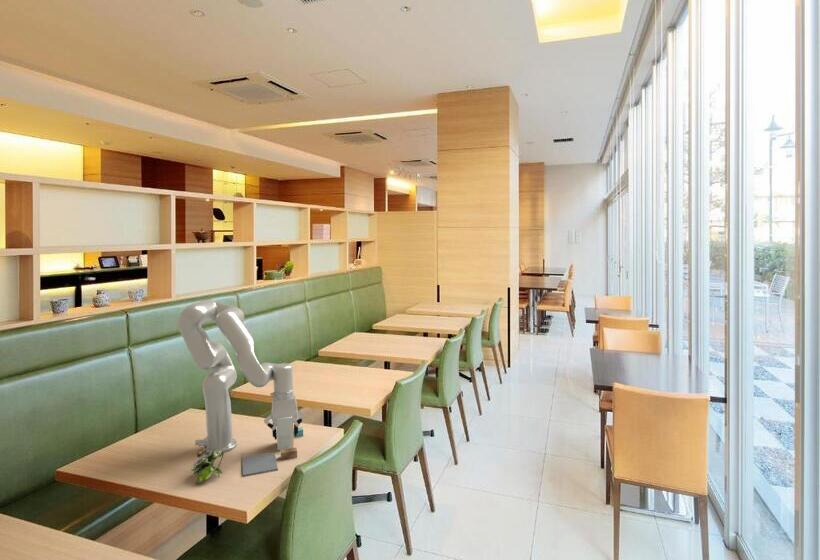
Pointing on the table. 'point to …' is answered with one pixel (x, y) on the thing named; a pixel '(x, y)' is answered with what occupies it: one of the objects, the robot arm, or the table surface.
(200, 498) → the table surface
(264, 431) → the table surface
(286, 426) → the small box
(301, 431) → the teal block
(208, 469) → the passion flower
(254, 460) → the charcoal mat
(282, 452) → the walnut block
